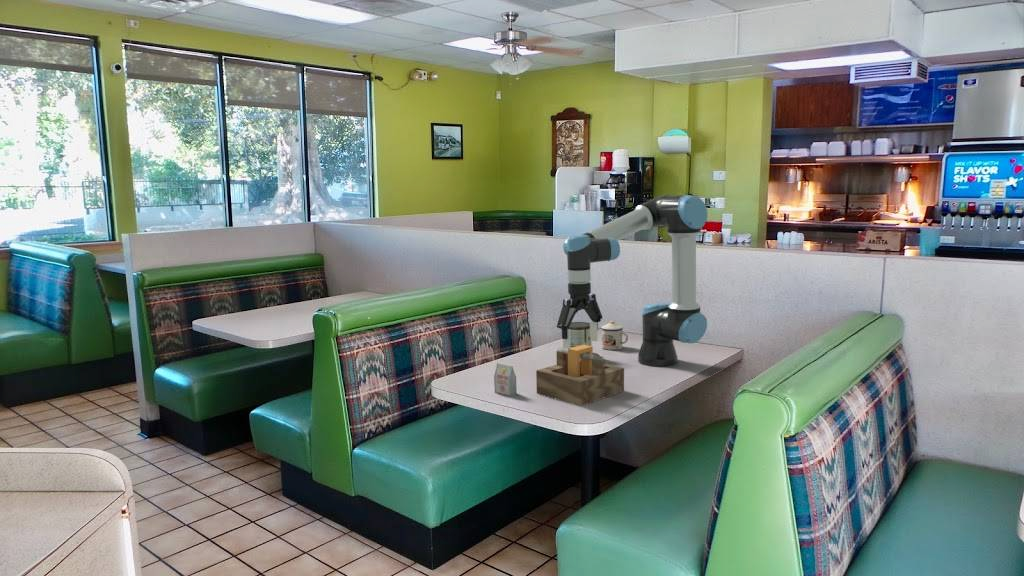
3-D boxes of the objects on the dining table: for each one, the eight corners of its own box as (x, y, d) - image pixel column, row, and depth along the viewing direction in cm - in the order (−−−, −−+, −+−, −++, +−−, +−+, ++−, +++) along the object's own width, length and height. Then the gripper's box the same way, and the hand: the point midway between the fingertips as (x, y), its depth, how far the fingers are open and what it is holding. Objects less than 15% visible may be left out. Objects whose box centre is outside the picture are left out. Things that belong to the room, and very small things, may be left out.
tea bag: (501, 390, 243) (501, 362, 242) (516, 393, 239) (515, 365, 237) (494, 392, 241) (493, 364, 239) (509, 396, 236) (508, 367, 235)
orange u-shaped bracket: (583, 372, 242) (583, 344, 240) (592, 375, 239) (592, 346, 238) (567, 377, 237) (567, 348, 235) (576, 379, 234) (576, 350, 232)
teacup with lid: (597, 348, 298) (597, 321, 296) (607, 344, 305) (607, 318, 303) (622, 352, 291) (622, 324, 289) (632, 347, 298) (632, 320, 296)
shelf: (579, 379, 253) (579, 341, 251) (624, 390, 239) (624, 350, 237) (536, 393, 239) (535, 353, 236) (581, 406, 224) (580, 363, 222)
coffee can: (566, 355, 288) (565, 321, 286) (591, 355, 287) (591, 321, 285) (565, 361, 278) (565, 327, 276) (592, 361, 277) (591, 327, 275)
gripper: (595, 276, 244) (596, 335, 247) (544, 286, 227) (546, 349, 231) (612, 278, 238) (612, 339, 242) (561, 288, 222) (563, 353, 225)
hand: (580, 344), depth 236 cm, fingers open, 13 cm apart
